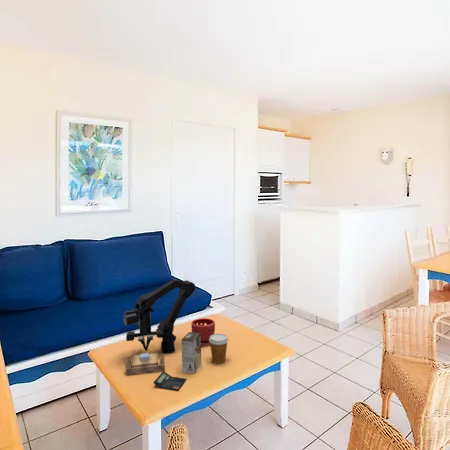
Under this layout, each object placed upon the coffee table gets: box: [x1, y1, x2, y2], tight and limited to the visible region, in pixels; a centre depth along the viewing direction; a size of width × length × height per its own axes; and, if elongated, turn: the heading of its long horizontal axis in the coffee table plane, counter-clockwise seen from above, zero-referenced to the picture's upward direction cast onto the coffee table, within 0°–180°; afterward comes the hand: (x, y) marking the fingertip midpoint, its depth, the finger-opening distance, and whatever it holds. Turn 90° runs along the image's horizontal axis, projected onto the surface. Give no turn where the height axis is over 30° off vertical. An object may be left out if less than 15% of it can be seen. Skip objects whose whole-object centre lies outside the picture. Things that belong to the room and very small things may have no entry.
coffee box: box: [181, 331, 202, 374], centre depth 168 cm, size 9×6×16 cm
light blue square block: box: [139, 352, 150, 362], centre depth 171 cm, size 4×4×2 cm
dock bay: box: [125, 352, 166, 377], centre depth 170 cm, size 17×13×3 cm
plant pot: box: [190, 317, 216, 347], centre depth 197 cm, size 13×13×12 cm
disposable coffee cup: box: [209, 333, 229, 364], centre depth 176 cm, size 10×10×12 cm
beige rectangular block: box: [131, 352, 159, 368], centre depth 171 cm, size 12×10×4 cm
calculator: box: [153, 371, 187, 392], centre depth 155 cm, size 9×12×3 cm
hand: (146, 350), depth 181 cm, fingers closed
